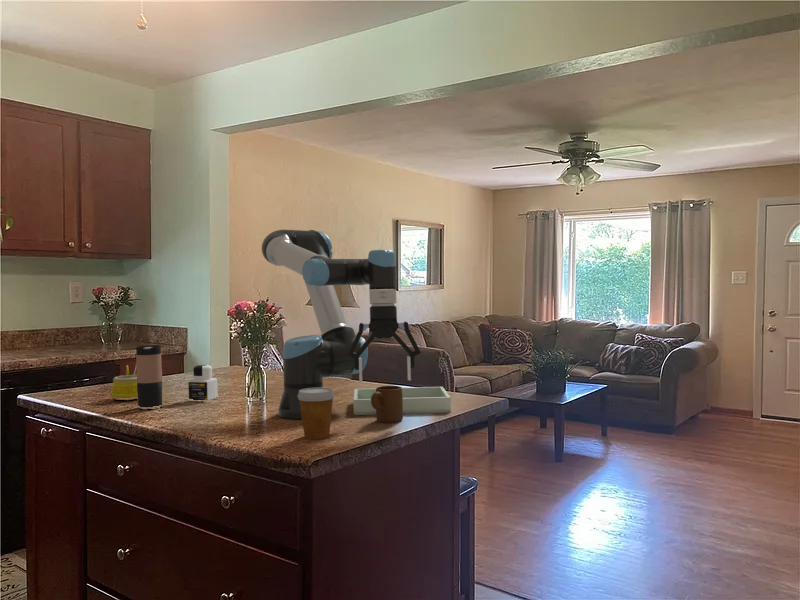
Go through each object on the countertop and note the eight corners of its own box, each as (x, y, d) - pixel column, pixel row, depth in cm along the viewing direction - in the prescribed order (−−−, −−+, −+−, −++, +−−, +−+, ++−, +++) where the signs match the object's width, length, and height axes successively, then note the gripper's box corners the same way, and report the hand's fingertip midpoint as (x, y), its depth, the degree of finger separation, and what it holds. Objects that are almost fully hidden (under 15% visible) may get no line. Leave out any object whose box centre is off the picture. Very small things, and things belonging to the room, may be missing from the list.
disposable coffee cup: (340, 433, 171) (339, 387, 170) (327, 441, 161) (326, 393, 161) (306, 431, 173) (305, 386, 173) (292, 440, 164) (291, 392, 163)
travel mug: (152, 405, 215) (150, 344, 215) (168, 407, 211) (166, 345, 211) (132, 409, 209) (130, 347, 208) (148, 411, 205) (146, 347, 204)
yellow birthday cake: (134, 402, 221) (133, 367, 221) (105, 402, 223) (104, 367, 223) (154, 395, 234) (153, 362, 234) (126, 395, 236) (125, 362, 235)
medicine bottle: (188, 401, 220) (187, 366, 220) (199, 398, 227) (198, 363, 227) (207, 402, 218) (206, 366, 218) (218, 398, 225) (217, 364, 225)
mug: (384, 427, 176) (383, 393, 176) (361, 424, 180) (360, 391, 180) (408, 419, 186) (407, 386, 186) (386, 416, 190) (385, 384, 190)
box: (353, 414, 194) (353, 399, 193) (355, 402, 214) (354, 388, 213) (450, 412, 195) (450, 397, 195) (442, 400, 215) (442, 386, 215)
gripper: (337, 306, 178) (339, 384, 178) (428, 304, 179) (430, 381, 179) (339, 305, 185) (341, 380, 186) (426, 303, 186) (428, 377, 187)
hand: (385, 380), depth 182 cm, fingers open, 13 cm apart
